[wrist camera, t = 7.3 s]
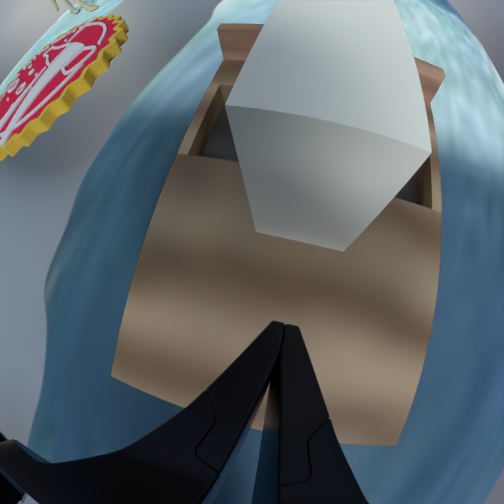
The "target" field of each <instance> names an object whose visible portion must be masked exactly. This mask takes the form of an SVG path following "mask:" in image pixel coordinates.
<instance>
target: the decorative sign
mask: <svg viewBox="0 0 504 504" xmlns="http://www.w3.org/2000/svg"><path fill="white" fill-rule="evenodd" d="M128 31H129V29H128V27H127V25H126V23H125V21H124V20H122V18H121V16H116V17H114V16H113V14H112V15H109V16H106V17H104V18H103V16H100V17H98V18H97V17H95V18H94V19H91V20H88V21H86V22H85V23H83V24H81V25H79V26H75V27H73V28H72V29H71V30H69V31H68V32H66V33H64V34H62V35H60V36H59V37H58V38H56V39H55V40H54V41H53V42H51V43H50V44H48V45H46V46H45V47H44V48H43V49H42V50H41V51H40V52H39V53H38V54H36V55H35V56H34V57H32V58H31V59H30V61H29V62H28V63H27V64H26V65H25V66H24V67H23V68H22V69H21V70H20V71H19V72H18V73H17V75H16V76H15V78H14V79H13V80H12V81H11V82H10V83H9V84H8V85H7V87H6V89H5V91H4V92H3V94H2V95H1V96H0V160H1V161H2V160H3V159H4V158H5V157H6V156H7V155H8V154H9V155H11V156H12V157H13V156H14V155H15V154H16V153H17V152H18V151H19V149H20V148H21V147H22V146H30V144H31V143H32V142H33V140H34V139H35V138H36V136H37V135H38V134H39V133H42V132H45V131H47V130H49V129H50V127H51V126H52V124H53V123H54V121H55V120H56V119H57V117H58V116H60V115H62V114H64V113H66V112H68V111H69V110H70V109H71V108H72V106H73V104H74V102H75V101H76V99H77V98H78V97H79V96H80V95H82V94H84V93H85V92H87V91H88V90H90V89H91V88H92V86H93V84H94V81H95V79H96V78H97V77H98V76H100V75H101V74H102V73H104V72H105V71H107V70H108V69H109V68H110V61H111V60H112V59H113V58H115V57H116V56H117V55H118V54H120V53H121V52H122V50H121V48H120V46H121V45H122V44H124V43H125V42H126V41H127V40H128V37H127V36H126V33H127V32H128Z"/></svg>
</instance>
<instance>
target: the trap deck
mask: <svg viewBox="0 0 504 504" xmlns="http://www.w3.org/2000/svg"><path fill="white" fill-rule="evenodd" d="M263 26H264V25H263V24H220V26H219V27H218V28H217V31H218V36H219V40H220V45H221V49H222V54H223V58H224V60H223V62H222V64H221V65H220V67H219V69H218V71H217V73H216V74H215V76H214V78H213V80H212V82H211V84H210V86H209V87H208V89H207V91H206V93H205V95H204V97H203V99H202V101H201V103H200V105H199V107H198V109H197V111H196V113H195V115H194V117H193V119H192V121H191V124H190V126H189V128H188V130H187V132H186V134H185V137H184V139H183V141H182V143H181V145H180V148H179V150H178V152H177V155H176V157H175V159H174V162H173V164H172V167H171V169H170V171H169V174H168V176H167V179H166V181H165V184H164V187H163V189H162V192H161V194H160V197H159V200H158V202H157V205H156V208H155V211H154V213H153V216H152V219H151V222H150V225H149V228H148V231H147V234H146V237H145V240H144V243H143V246H142V249H141V252H140V256H139V259H138V262H137V266H136V269H135V272H134V276H133V280H132V283H131V287H130V291H129V294H128V298H127V302H126V306H125V310H124V314H123V318H122V323H121V327H120V332H119V336H118V341H117V346H116V351H115V356H114V361H113V367H112V373H111V376H112V377H114V378H116V379H118V380H120V381H122V382H124V383H126V384H128V385H130V386H133V387H135V388H137V389H139V390H141V391H144V392H146V393H148V394H151V395H153V396H155V397H158V398H160V399H163V400H165V401H168V402H170V403H173V404H175V405H178V406H181V407H184V408H186V407H187V406H188V405H189V404H190V403H191V402H192V401H194V400H195V399H196V398H197V397H198V396H199V395H200V394H201V393H202V392H203V391H204V390H206V388H207V387H208V386H209V385H210V384H211V383H213V382H214V381H215V380H216V379H217V378H218V377H219V376H220V375H221V374H222V373H223V372H224V371H225V370H226V369H227V367H228V366H229V365H230V364H231V363H232V362H233V361H234V360H235V359H236V358H237V357H238V356H239V355H240V354H241V353H242V352H243V351H244V350H245V349H246V348H247V347H248V346H249V345H250V344H251V343H252V342H253V341H254V339H255V338H256V337H257V336H258V335H259V334H260V333H261V332H262V331H263V330H264V329H265V328H266V327H267V325H268V324H269V323H270V322H271V321H273V320H275V321H279V322H283V323H285V325H286V324H292V325H296V326H298V327H299V328H300V331H301V333H302V336H303V339H304V342H305V345H306V348H307V351H308V353H309V356H310V359H311V362H312V365H313V368H314V371H315V374H316V377H317V380H318V383H319V386H320V389H321V392H322V395H323V398H324V401H325V404H326V407H327V410H328V413H329V416H330V417H329V419H331V421H332V425H333V428H334V431H335V433H336V436H337V439H338V442H339V443H345V444H359V445H383V446H396V444H397V442H398V440H399V437H400V435H401V432H402V430H403V427H404V424H405V422H406V419H407V416H408V414H409V411H410V408H411V405H412V402H413V399H414V396H415V393H416V389H417V386H418V383H419V379H420V375H421V372H422V368H423V364H424V360H425V356H426V352H427V347H428V343H429V338H430V333H431V328H432V322H433V317H434V310H435V304H436V297H437V289H438V280H439V269H440V256H441V233H442V203H441V180H440V167H439V157H438V148H437V140H436V133H435V127H434V121H433V115H432V110H431V105H430V102H431V101H432V99H433V97H434V96H435V94H436V92H437V90H438V89H439V87H440V85H441V83H442V81H443V80H444V78H445V74H444V71H443V69H441V68H439V67H437V66H434V65H432V64H430V63H427V62H425V61H423V60H420V59H418V58H415V57H414V59H415V63H416V67H417V71H418V75H419V79H420V83H421V88H422V92H423V97H424V102H425V108H426V113H427V119H428V126H429V133H430V141H431V150H432V153H431V154H430V155H429V157H428V158H427V159H426V160H425V161H424V163H423V164H422V165H421V166H420V168H419V169H418V170H417V171H416V172H415V174H414V175H413V176H412V177H411V178H410V179H409V181H408V182H407V183H406V184H405V185H404V186H403V188H402V189H401V190H400V191H399V192H398V193H397V194H396V196H395V197H394V198H393V199H392V200H391V201H390V202H389V203H388V205H387V206H386V207H385V208H384V209H383V210H382V211H381V212H380V213H379V215H378V216H377V217H376V218H375V219H374V220H373V221H372V222H371V223H370V224H369V225H368V227H367V228H366V229H365V230H364V231H363V232H362V233H361V234H360V235H359V236H358V237H357V238H356V239H355V240H354V241H353V242H352V243H351V245H350V246H349V247H348V248H347V249H346V250H345V251H344V252H342V251H338V250H334V249H329V248H325V247H321V246H317V245H312V244H308V243H304V242H299V241H295V240H290V239H286V238H281V237H277V236H273V235H268V234H263V233H259V232H256V230H255V226H254V222H253V217H252V213H251V209H250V205H249V201H248V197H247V193H246V189H245V184H244V180H243V176H242V172H241V168H240V164H239V160H238V156H237V152H236V148H235V144H234V140H233V136H232V132H231V128H230V124H229V120H228V116H227V112H226V108H225V104H226V101H227V99H228V97H229V95H230V92H231V90H232V88H233V86H234V84H235V82H236V80H237V77H238V75H239V73H240V71H241V69H242V67H243V65H244V63H245V61H246V59H247V57H248V55H249V53H250V51H251V49H252V47H253V45H254V43H255V41H256V39H257V37H258V35H259V34H260V32H261V30H262V28H263ZM269 384H270V383H269ZM268 389H269V386H268ZM268 389H267V392H266V394H265V396H264V399H263V401H262V403H261V406H260V408H259V410H258V413H257V415H256V417H255V419H254V422H253V424H252V426H251V428H253V429H258V430H262V431H263V426H264V419H265V411H266V403H267V396H268Z"/></svg>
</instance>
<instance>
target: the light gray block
mask: <svg viewBox="0 0 504 504" xmlns="http://www.w3.org/2000/svg"><path fill="white" fill-rule="evenodd" d="M225 108H226V112H227V116H228V120H229V124H230V128H231V132H232V136H233V140H234V144H235V148H236V152H237V156H238V160H239V164H240V168H241V172H242V176H243V180H244V184H245V189H246V193H247V197H248V201H249V205H250V209H251V213H252V217H253V222H254V226H255V230H256V232H259V233H263V234H268V235H273V236H277V237H281V238H286V239H290V240H295V241H299V242H304V243H308V244H312V245H317V246H321V247H325V248H329V249H334V250H338V251H342V252H344V251H345V250H346V249H347V248H348V247H349V246H350V245H351V243H352V242H353V241H354V240H355V239H356V238H357V237H358V236H359V235H360V234H361V233H362V232H363V231H364V230H365V229H366V228H367V227H368V225H369V224H370V223H371V222H372V221H373V220H374V219H375V218H376V217H377V216H378V215H379V213H380V212H381V211H382V210H383V209H384V208H385V207H386V206H387V205H388V203H389V202H390V201H391V200H392V199H393V198H394V197H395V196H396V194H397V193H398V192H399V191H400V190H401V189H402V188H403V186H404V185H405V184H406V183H407V182H408V181H409V179H410V178H411V177H412V176H413V175H414V174H415V172H416V171H417V170H418V169H419V168H420V166H421V165H422V164H423V163H424V161H425V160H426V159H427V158H428V157H429V155H430V154H431V153H432V150H431V141H430V133H429V126H428V119H427V113H426V108H425V102H424V97H423V92H422V88H421V83H420V79H419V75H418V71H417V67H416V63H415V59H414V56H413V52H412V49H411V46H410V43H409V40H408V37H407V34H406V31H405V28H404V25H403V22H402V20H401V17H400V14H399V12H398V9H397V7H396V4H395V2H394V0H278V1H277V3H276V5H275V6H274V8H273V10H272V12H271V13H270V15H269V17H268V19H267V21H266V22H265V24H264V26H263V28H262V30H261V32H260V34H259V35H258V37H257V39H256V41H255V43H254V45H253V47H252V49H251V51H250V53H249V55H248V57H247V59H246V61H245V63H244V65H243V67H242V69H241V71H240V73H239V75H238V77H237V80H236V82H235V84H234V86H233V88H232V90H231V92H230V95H229V97H228V99H227V101H226V104H225Z"/></svg>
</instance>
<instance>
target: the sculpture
mask: <svg viewBox="0 0 504 504" xmlns="http://www.w3.org/2000/svg"><path fill="white" fill-rule="evenodd" d="M51 1H52V4H53V5H54V7H55V9H56V11H59V8H58V6H57V3H56V0H51ZM63 1H64V2H65V3H66V4H67V6H68V7H69V9H70V12H71V13H73V14H74V13H77V12H78V11H79V10H77V9H75V8H74V7H73V6H72V5H71V4H70V3H69V1H68V0H63ZM75 1H77V2H78V3H79V4H80V5H81V6H83V7H84V8H85V10H86V11H89V12H90V11H93V10H95V9H96V8H98V7H99V6H98V5H96V6H92V5H89V4H87V3H85V2H83V1H82V0H75Z"/></svg>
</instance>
